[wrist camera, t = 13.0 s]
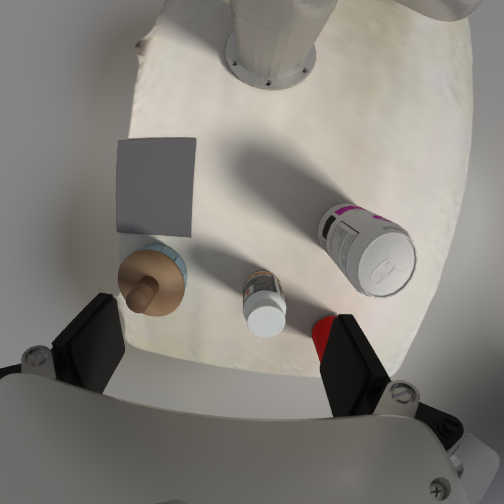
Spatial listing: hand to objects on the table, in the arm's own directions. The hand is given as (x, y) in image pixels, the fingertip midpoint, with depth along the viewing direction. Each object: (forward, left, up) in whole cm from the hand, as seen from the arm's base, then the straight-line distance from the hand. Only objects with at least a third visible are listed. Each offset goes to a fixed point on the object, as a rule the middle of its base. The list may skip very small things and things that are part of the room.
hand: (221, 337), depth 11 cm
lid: (+10, -12, -24) cm, 29 cm away
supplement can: (+1, +15, -28) cm, 32 cm away
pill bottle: (+11, +4, -28) cm, 31 cm away
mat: (-3, -13, -28) cm, 31 cm away
